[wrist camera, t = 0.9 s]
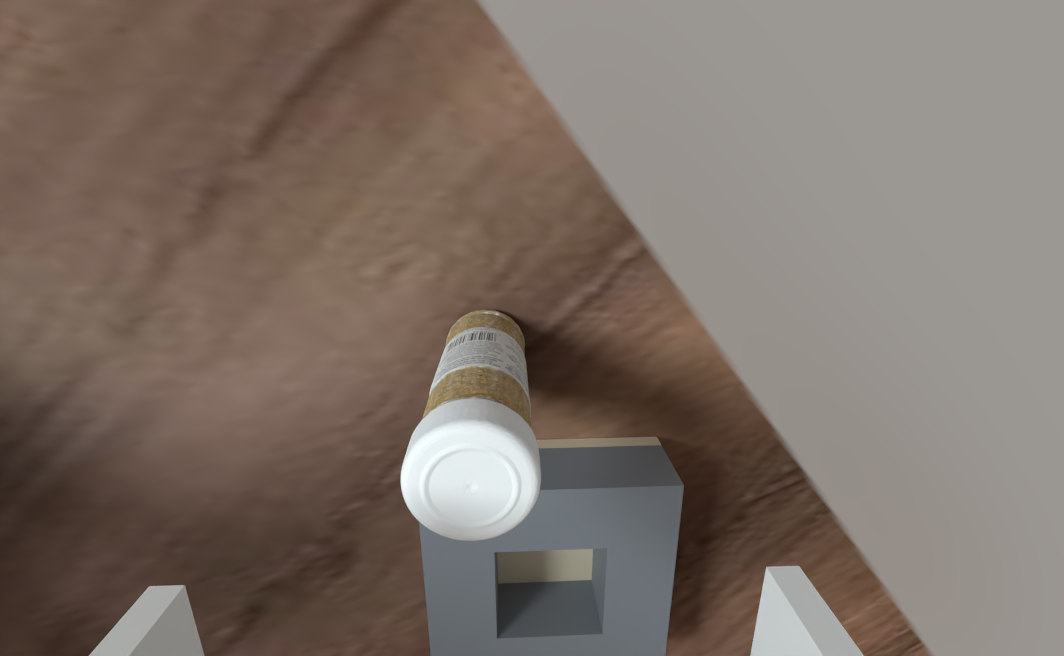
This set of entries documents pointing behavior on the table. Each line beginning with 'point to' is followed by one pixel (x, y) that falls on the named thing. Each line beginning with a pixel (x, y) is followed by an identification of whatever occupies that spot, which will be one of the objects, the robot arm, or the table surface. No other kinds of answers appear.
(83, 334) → the table surface
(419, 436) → the sprinkles bottle
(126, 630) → the robot arm
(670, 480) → the socket block
